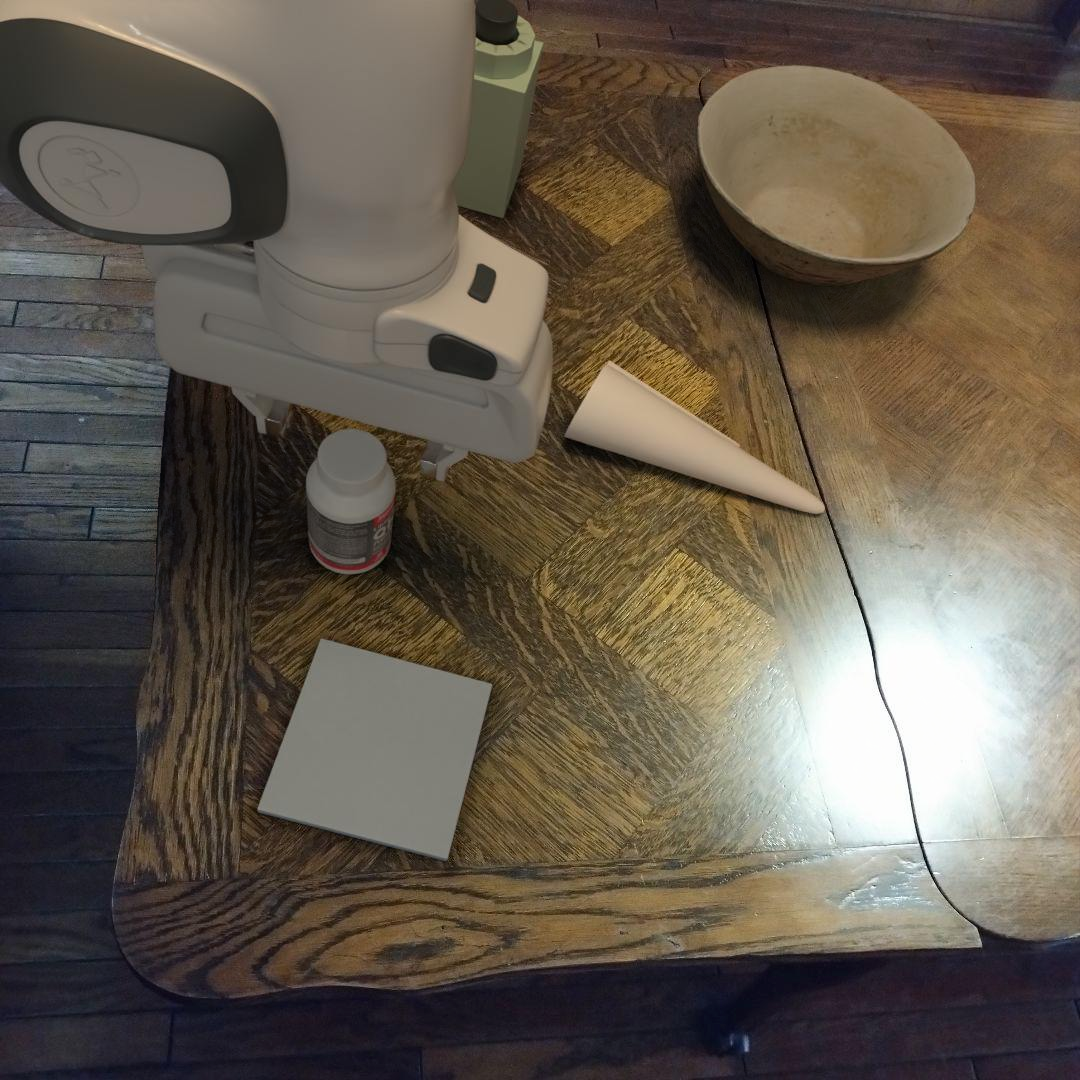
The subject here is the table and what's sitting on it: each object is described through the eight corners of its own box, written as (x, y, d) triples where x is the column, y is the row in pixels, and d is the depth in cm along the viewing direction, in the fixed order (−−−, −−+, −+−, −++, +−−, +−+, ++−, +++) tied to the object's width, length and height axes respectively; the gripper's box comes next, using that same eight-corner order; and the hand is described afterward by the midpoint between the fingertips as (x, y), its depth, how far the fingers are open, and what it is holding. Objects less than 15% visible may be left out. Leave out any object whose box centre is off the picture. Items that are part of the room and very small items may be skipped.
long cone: (786, 584, 72) (555, 451, 72) (806, 525, 76) (587, 399, 76) (828, 542, 67) (582, 400, 67) (847, 481, 71) (614, 347, 71)
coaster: (257, 812, 55) (256, 809, 55) (320, 641, 61) (320, 637, 61) (446, 861, 56) (447, 859, 55) (491, 687, 62) (492, 683, 61)
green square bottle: (423, 196, 84) (437, 41, 72) (444, 147, 88) (460, -8, 76) (503, 219, 84) (529, 68, 72) (520, 168, 88) (548, 18, 76)
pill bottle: (390, 577, 64) (398, 494, 56) (306, 576, 63) (301, 491, 55) (391, 508, 67) (398, 419, 59) (310, 505, 66) (306, 415, 58)
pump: (468, 40, 74) (471, 14, 72) (478, 18, 75) (481, -9, 74) (509, 52, 74) (513, 26, 72) (518, 29, 75) (522, 3, 74)
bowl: (693, 336, 81) (733, 242, 72) (649, 146, 93) (680, 46, 84) (952, 348, 85) (1018, 261, 77) (878, 165, 97) (928, 73, 89)
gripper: (103, 252, 43) (156, 443, 55) (555, 375, 43) (513, 538, 55) (162, 164, 46) (201, 361, 58) (581, 279, 47) (536, 452, 58)
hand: (355, 448), depth 57 cm, fingers open, 8 cm apart
